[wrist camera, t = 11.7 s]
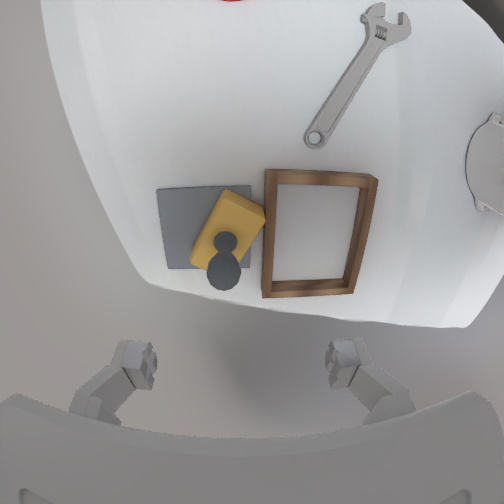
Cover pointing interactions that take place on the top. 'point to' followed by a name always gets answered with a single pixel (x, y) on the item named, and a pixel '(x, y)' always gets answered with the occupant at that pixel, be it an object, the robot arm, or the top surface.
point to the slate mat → (190, 220)
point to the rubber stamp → (227, 238)
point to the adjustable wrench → (358, 69)
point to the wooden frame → (357, 243)
